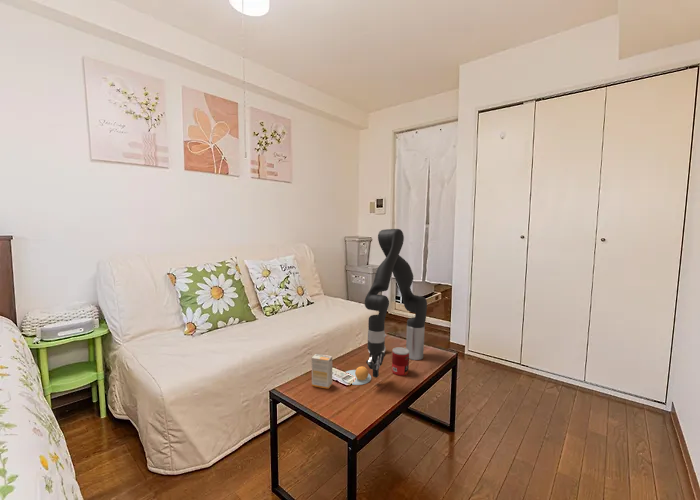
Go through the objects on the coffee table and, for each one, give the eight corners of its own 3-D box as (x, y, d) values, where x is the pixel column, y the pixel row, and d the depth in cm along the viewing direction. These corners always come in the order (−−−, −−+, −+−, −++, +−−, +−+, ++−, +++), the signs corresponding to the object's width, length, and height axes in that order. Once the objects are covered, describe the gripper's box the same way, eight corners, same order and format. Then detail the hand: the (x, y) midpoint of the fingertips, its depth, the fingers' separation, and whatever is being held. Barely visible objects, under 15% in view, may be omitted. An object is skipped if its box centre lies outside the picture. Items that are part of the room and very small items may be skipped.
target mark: (352, 367, 161) (352, 367, 161) (376, 375, 153) (376, 375, 153) (335, 378, 149) (335, 378, 149) (360, 388, 141) (360, 387, 141)
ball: (372, 371, 149) (366, 380, 151) (363, 362, 152) (357, 371, 153) (366, 375, 144) (359, 384, 146) (356, 365, 147) (350, 375, 148)
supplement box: (332, 384, 144) (333, 355, 143) (328, 389, 140) (328, 360, 138) (315, 381, 147) (316, 353, 146) (311, 386, 142) (311, 357, 141)
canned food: (408, 377, 152) (409, 354, 151) (391, 375, 154) (391, 352, 153) (408, 369, 160) (409, 348, 158) (392, 367, 161) (392, 346, 160)
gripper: (376, 332, 151) (375, 368, 152) (360, 341, 140) (360, 380, 142) (390, 336, 146) (390, 373, 148) (375, 345, 136) (375, 385, 137)
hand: (375, 376), depth 145 cm, fingers closed
